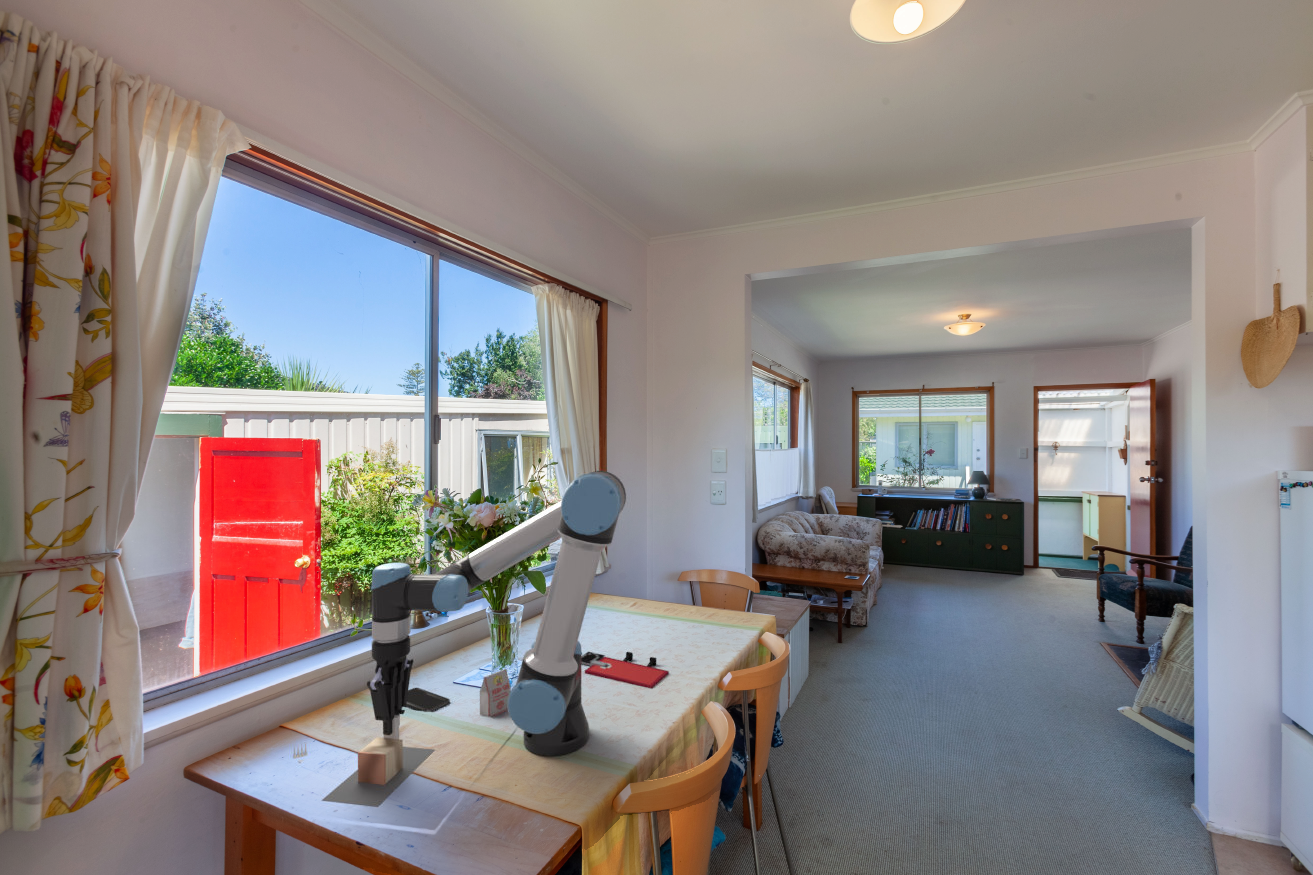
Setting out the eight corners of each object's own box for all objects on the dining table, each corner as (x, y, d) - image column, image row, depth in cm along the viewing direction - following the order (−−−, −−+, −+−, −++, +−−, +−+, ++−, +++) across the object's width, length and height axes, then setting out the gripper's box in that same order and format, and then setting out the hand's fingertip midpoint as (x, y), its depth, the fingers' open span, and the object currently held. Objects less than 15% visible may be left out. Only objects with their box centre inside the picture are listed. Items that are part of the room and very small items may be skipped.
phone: (426, 711, 145) (390, 697, 153) (426, 716, 145) (390, 701, 153) (452, 699, 152) (416, 686, 160) (452, 703, 152) (416, 690, 160)
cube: (402, 739, 121) (384, 755, 115) (402, 767, 121) (384, 784, 115) (377, 736, 122) (357, 752, 116) (377, 764, 122) (357, 781, 116)
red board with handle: (591, 652, 188) (564, 669, 174) (591, 643, 188) (564, 660, 174) (674, 670, 174) (651, 691, 161) (674, 661, 174) (651, 681, 160)
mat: (435, 752, 128) (435, 749, 128) (377, 809, 109) (377, 806, 109) (386, 747, 130) (386, 744, 130) (321, 803, 110) (321, 799, 110)
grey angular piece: (479, 714, 146) (479, 675, 146) (501, 704, 151) (501, 666, 151) (488, 718, 143) (488, 679, 143) (510, 708, 149) (510, 670, 149)
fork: (296, 790, 115) (296, 780, 115) (292, 753, 128) (292, 745, 128) (311, 785, 117) (311, 775, 117) (306, 750, 130) (306, 741, 130)
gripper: (394, 625, 129) (394, 729, 129) (354, 647, 116) (354, 762, 117) (424, 627, 128) (424, 732, 128) (388, 649, 115) (388, 765, 115)
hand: (391, 746), depth 122 cm, fingers closed
